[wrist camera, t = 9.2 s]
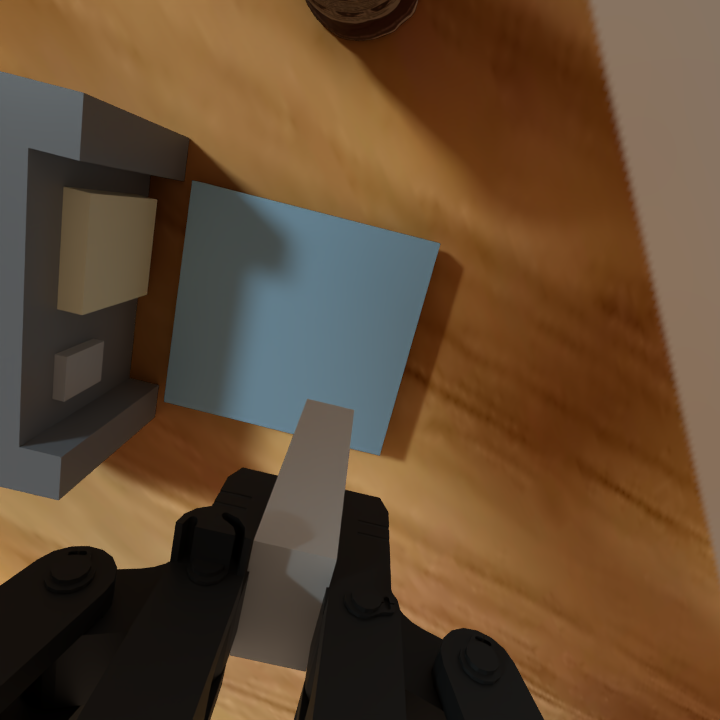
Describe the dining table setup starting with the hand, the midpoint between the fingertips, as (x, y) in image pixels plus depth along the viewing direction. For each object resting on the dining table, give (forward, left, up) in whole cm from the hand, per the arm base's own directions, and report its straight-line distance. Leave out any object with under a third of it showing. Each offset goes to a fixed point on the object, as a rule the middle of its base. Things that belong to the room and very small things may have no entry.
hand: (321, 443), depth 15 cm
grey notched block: (-6, -16, -16) cm, 23 cm away
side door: (-3, -10, -15) cm, 18 cm away
